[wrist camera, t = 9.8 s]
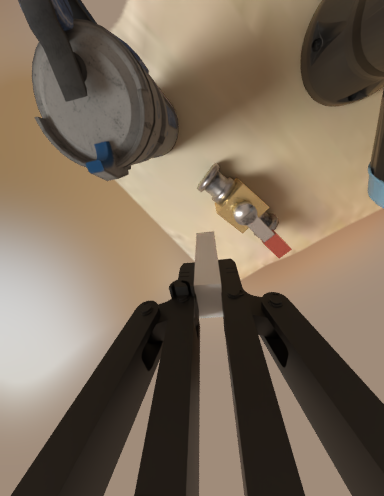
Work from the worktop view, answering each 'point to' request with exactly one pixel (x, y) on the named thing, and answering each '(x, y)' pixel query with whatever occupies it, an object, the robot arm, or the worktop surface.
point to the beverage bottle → (95, 92)
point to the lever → (260, 228)
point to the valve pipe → (233, 198)
